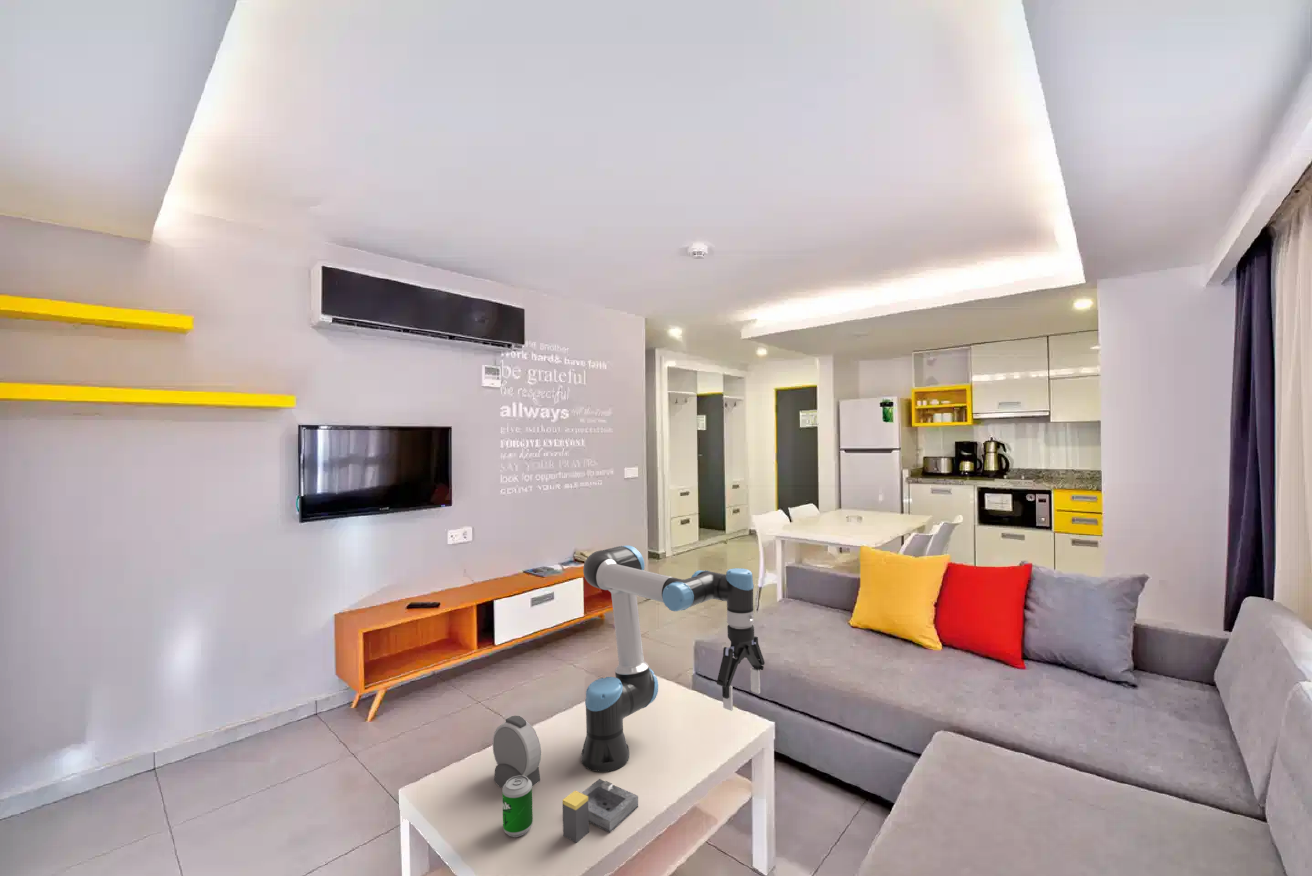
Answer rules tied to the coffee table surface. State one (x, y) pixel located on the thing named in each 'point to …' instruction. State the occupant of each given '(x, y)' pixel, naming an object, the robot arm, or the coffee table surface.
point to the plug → (575, 816)
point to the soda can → (517, 806)
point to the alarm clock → (516, 751)
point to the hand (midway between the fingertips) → (742, 700)
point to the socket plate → (609, 804)
